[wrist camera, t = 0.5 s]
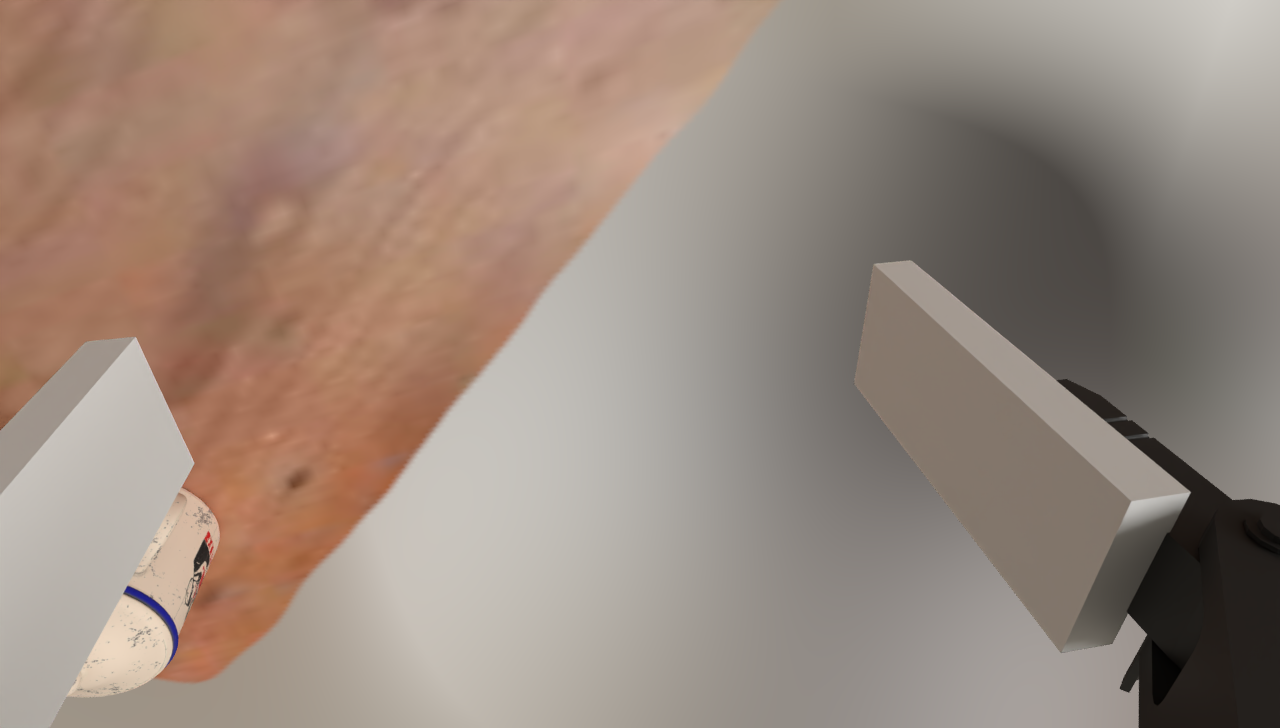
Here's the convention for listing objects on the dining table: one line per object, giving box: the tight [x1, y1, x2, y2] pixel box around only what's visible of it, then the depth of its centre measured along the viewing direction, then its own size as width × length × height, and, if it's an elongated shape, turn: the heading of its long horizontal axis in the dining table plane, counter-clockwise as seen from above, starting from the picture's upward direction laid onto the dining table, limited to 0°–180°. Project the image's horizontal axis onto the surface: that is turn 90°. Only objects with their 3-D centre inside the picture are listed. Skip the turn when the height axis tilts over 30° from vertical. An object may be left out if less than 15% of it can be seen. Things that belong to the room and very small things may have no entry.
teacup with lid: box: [67, 488, 220, 697], centre depth 40 cm, size 12×9×12 cm
